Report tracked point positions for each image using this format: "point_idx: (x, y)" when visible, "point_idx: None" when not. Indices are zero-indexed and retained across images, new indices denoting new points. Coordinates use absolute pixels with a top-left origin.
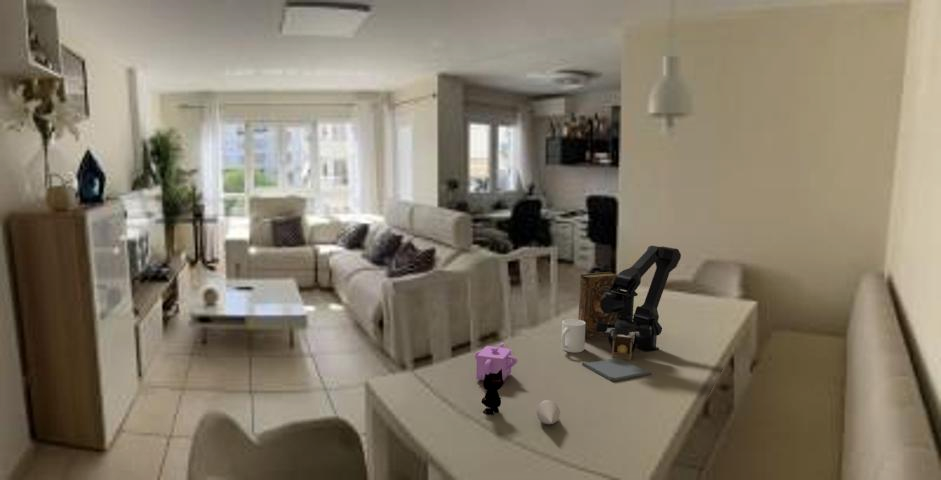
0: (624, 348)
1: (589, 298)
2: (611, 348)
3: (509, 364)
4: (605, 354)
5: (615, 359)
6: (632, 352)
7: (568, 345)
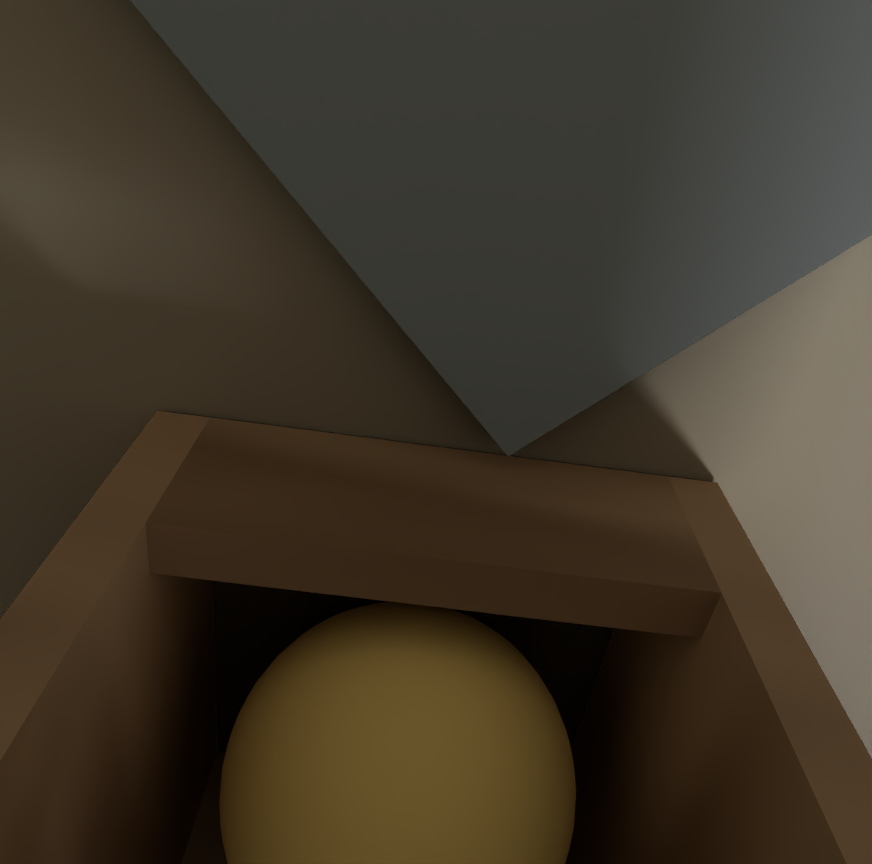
0: (324, 801)
1: None
2: None
3: None
4: (828, 650)
5: (662, 252)
6: None
7: None
